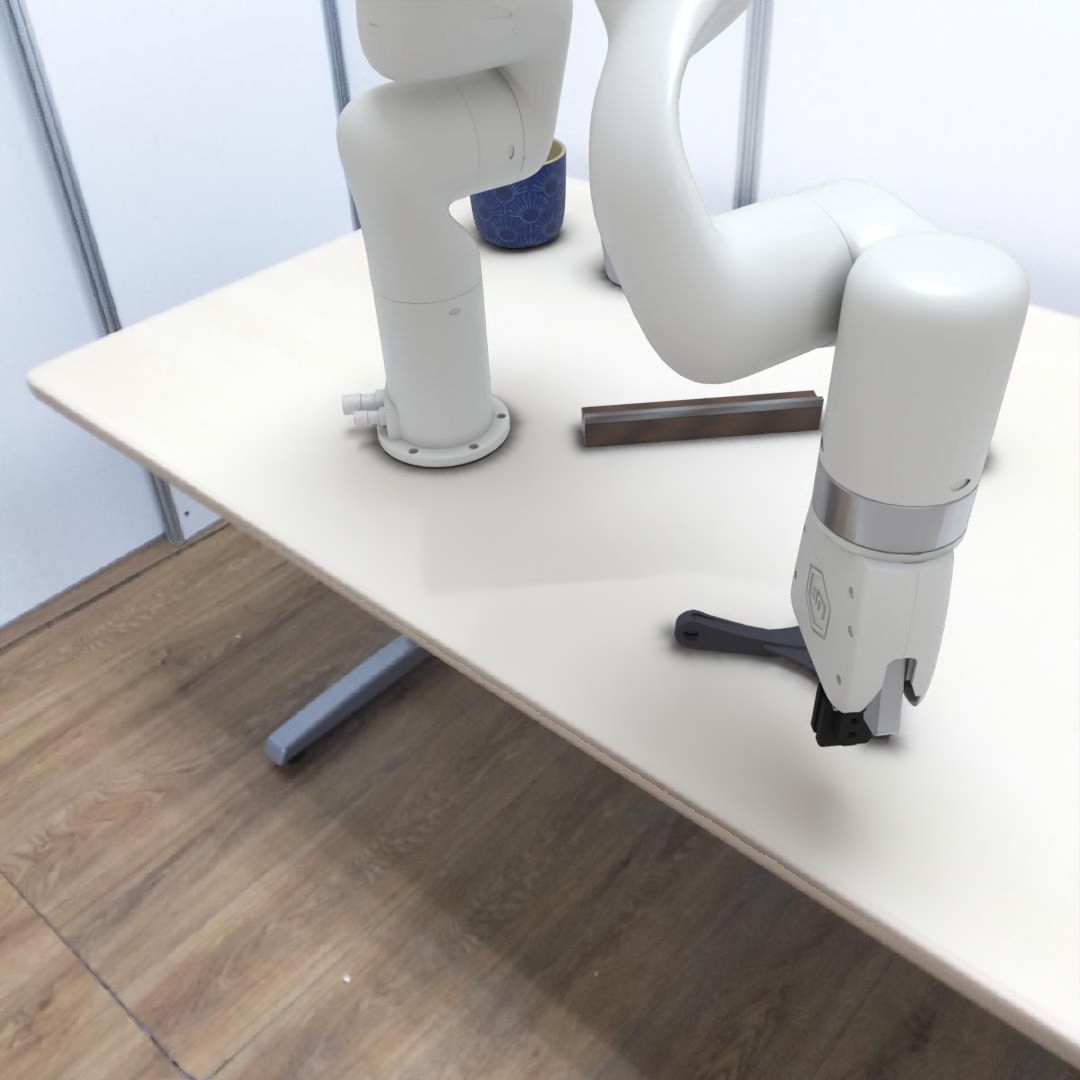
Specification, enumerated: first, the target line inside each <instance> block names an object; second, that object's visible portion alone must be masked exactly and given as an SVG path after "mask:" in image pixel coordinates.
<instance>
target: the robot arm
mask: <svg viewBox="0 0 1080 1080" xmlns="http://www.w3.org/2000/svg"><path fill="white" fill-rule="evenodd" d="M573 1H574V0H355V19H356V27H357V28H356V29H357V35H358V39H359V44H360V47H361V50H362V54H363V55H364V58H365V59H366V61H367V63H368V64H369V65H370V67H371V68H372V69H373V70H374V71H375V72H376V73H378V74H379V75H380V76H382V77H384V78H385V79H387V80H391V81H388V82H385V83H381V84H378V85H375V86H372V87H371V88H368V89H366V90H364V91H362V92H360V93H359V94H357V95H356V96H354V97H353V98H352V99H351V100H350V101H349V102H348V103H347V104H346V105H345V107H343V109H342V111H341V112H340V115H339V117H338V119H337V123H336V131H335V138H336V145H337V151H338V155H339V159H340V163H341V167H342V169H343V173H344V175H345V178H346V181H347V185H348V189H349V191H350V195H351V197H352V200H353V203H354V207H355V209H356V213H357V217H358V221H359V225H360V229H361V233H362V238H363V243H364V248H365V249H364V250H365V254H366V260H367V265H368V273H369V278H370V283H371V284H370V285H371V288H372V294H373V301H374V308H375V314H376V321H377V327H378V328H377V329H378V334H379V340H380V341H379V342H380V348H381V354H382V361H383V367H384V374H385V387H384V388H380V389H375V391H374V392H375V393H363V394H362V393H351V394H342V395H341V406H342V412H343V415H344V416H353V423H354V426H355V427H362V426H369V425H376V433H377V439H378V442H379V444H380V446H381V447H382V449H383V450H384V451H385V452H386V453H387V454H388V455H390V456H391V457H392V458H395V459H396V460H398V461H401V462H403V463H406V464H410V465H412V466H419V467H426V468H445V467H446V468H447V467H453V466H459V465H464V464H468V463H471V462H474V461H477V460H479V459H482V458H484V457H486V456H487V455H489V454H491V453H492V452H494V451H496V450H497V449H498V448H499V447H500V446H501V445H502V444H503V443H504V442H505V440H506V439H507V438H508V436H509V433H510V430H511V417H510V412H509V410H508V408H507V406H506V404H505V403H504V402H503V401H502V400H500V398H498V397H496V396H495V395H493V394H492V383H491V382H492V381H491V371H490V356H489V343H488V331H487V319H486V318H487V317H486V306H485V295H484V293H485V292H484V280H483V270H482V260H481V254H480V250H479V247H478V245H477V242H476V240H475V239H474V237H473V236H472V235H471V232H469V231H468V230H467V229H466V227H464V226H463V225H462V224H461V223H460V222H459V221H458V220H457V219H456V218H454V216H453V215H452V214H451V212H450V206H451V205H452V203H454V202H456V201H459V200H462V199H465V198H468V197H470V195H473V194H476V193H480V192H484V191H487V190H491V189H495V188H498V187H502V186H505V185H509V184H512V183H516V182H519V181H521V180H524V179H526V178H528V177H530V176H532V175H534V174H535V173H536V172H538V171H539V169H540V168H541V167H542V166H543V164H544V163H545V161H546V160H547V157H548V155H549V152H550V149H551V146H552V142H553V138H555V132H556V127H557V121H558V120H557V119H558V114H559V108H560V102H561V97H562V90H563V84H564V78H565V72H566V65H567V60H568V54H569V47H570V40H571V34H572V25H573V17H574V16H573V14H574V13H573V11H574V2H573ZM593 1H594V3H595V6H596V7H597V10H598V13H599V15H600V17H601V19H602V22H603V24H604V28H605V31H606V35H607V51H606V56H605V59H604V63H603V67H602V69H601V73H600V77H599V80H598V83H597V86H596V89H595V92H594V97H593V101H592V102H593V103H592V108H591V114H590V123H589V131H588V132H589V135H588V173H589V175H588V179H589V193H590V199H591V206H592V212H593V216H594V219H595V223H596V227H597V230H598V233H599V237H600V240H601V239H602V241H603V244H604V246H605V249H606V251H607V254H608V256H609V258H610V260H611V263H612V265H613V268H614V270H615V272H616V275H617V277H618V280H619V282H620V284H621V285H620V287H621V289H622V292H623V293H624V296H625V298H626V301H627V303H628V305H629V307H630V310H631V311H632V314H633V316H634V318H635V320H636V321H637V323H638V325H639V327H640V330H641V331H642V333H643V335H644V337H645V338H646V340H647V342H648V343H649V345H650V346H651V348H652V350H654V352H655V353H656V354H657V355H658V357H659V358H660V360H661V361H662V362H663V363H664V364H665V365H666V366H667V367H668V368H670V369H671V370H672V371H674V372H675V373H676V374H677V375H679V376H680V377H682V378H684V379H687V380H689V381H692V382H694V383H698V384H703V385H722V384H728V383H733V382H735V381H738V380H742V379H745V378H747V377H751V376H753V375H756V374H758V373H761V372H763V371H765V370H768V369H771V368H773V367H775V366H777V365H780V364H783V363H785V362H788V361H790V360H793V359H795V358H797V357H800V356H802V355H805V354H807V353H809V352H812V351H814V350H817V349H824V348H825V349H826V348H832V347H834V353H833V357H832V358H833V359H832V365H831V372H830V377H829V385H828V391H827V397H826V403H825V410H824V417H823V422H822V429H821V437H820V441H819V442H820V443H819V449H818V454H817V461H816V469H815V473H814V474H815V475H814V481H813V487H812V494H811V500H810V502H809V506H808V510H807V513H806V516H805V519H804V524H803V529H802V533H801V536H800V537H801V538H800V543H799V546H798V551H797V556H796V561H795V566H794V570H793V576H792V579H791V586H790V601H791V607H792V611H793V613H794V617H795V619H796V622H797V626H799V628H800V630H801V633H802V636H803V638H804V641H805V644H806V646H807V649H808V651H809V654H810V656H811V659H812V662H813V664H814V667H815V669H816V672H817V674H818V676H819V677H818V676H817V677H818V679H819V681H820V682H817V685H816V690H815V697H814V703H813V709H812V714H811V719H810V728H811V730H812V732H813V733H814V734H815V741H816V743H817V745H818V747H820V748H827V747H829V748H830V747H851V746H856V745H863V744H867V743H869V742H870V741H871V739H872V734H873V735H874V736H881V735H891V736H892V735H898V734H899V733H900V726H901V717H902V716H901V715H902V707H903V697H905V699H906V701H908V704H910V705H911V706H912V707H918V706H919V704H921V703H922V701H923V700H924V699H925V697H926V695H927V693H928V691H929V689H930V685H931V683H932V680H933V676H934V674H935V670H936V667H937V663H938V659H939V655H940V651H941V645H942V641H943V637H944V632H945V627H946V621H947V615H948V610H949V603H950V597H951V591H952V581H953V573H954V562H955V553H954V549H956V548H957V547H958V546H959V545H960V543H961V542H963V540H964V537H965V535H966V532H967V529H968V525H969V522H970V517H971V515H972V511H973V507H974V503H975V500H976V496H977V492H978V490H979V485H980V482H981V479H982V474H983V470H984V468H985V464H986V461H987V457H988V454H989V451H990V447H991V443H992V440H993V437H994V433H995V430H996V427H997V423H998V419H999V415H1000V412H1001V409H1002V404H1003V401H1004V399H1005V395H1006V390H1007V387H1008V384H1009V380H1010V376H1011V374H1012V369H1013V365H1014V362H1015V359H1016V355H1017V352H1018V347H1019V345H1020V342H1021V337H1022V334H1023V330H1024V326H1025V323H1026V319H1027V316H1028V315H1027V314H1028V311H1029V306H1030V302H1031V301H1030V300H1031V286H1030V281H1029V278H1028V274H1027V273H1026V270H1025V268H1024V266H1023V265H1022V264H1021V262H1019V260H1017V259H1016V258H1015V256H1013V255H1012V254H1011V253H1010V252H1008V251H1007V250H1005V249H1003V248H1002V247H1000V246H998V245H996V244H993V243H991V242H989V241H986V240H983V239H980V238H977V237H972V236H968V235H963V234H958V233H950V232H947V231H946V230H944V229H942V228H941V227H940V226H938V225H936V224H935V223H933V221H931V220H929V219H928V218H927V217H926V216H924V215H923V214H921V213H920V212H919V211H918V210H916V209H915V208H913V207H912V206H910V205H909V204H908V203H907V202H906V201H904V200H903V199H902V198H901V197H899V196H898V195H896V194H895V193H893V192H892V191H891V190H889V189H887V188H885V187H883V186H881V185H880V184H878V183H875V182H872V181H870V180H866V179H862V178H856V177H843V178H834V179H830V180H826V181H822V182H819V183H816V184H813V185H810V186H807V187H804V188H801V189H797V190H794V191H791V192H788V193H785V194H778V195H775V196H772V197H769V198H766V199H762V200H760V201H757V202H753V203H751V204H750V203H749V204H747V205H744V206H741V207H738V208H736V209H732V210H728V211H726V212H722V213H719V214H716V215H713V216H710V214H709V211H708V208H707V207H706V204H705V202H704V200H703V198H702V195H701V193H700V191H699V189H698V186H697V183H696V181H695V178H694V176H693V173H692V171H691V169H690V166H689V162H688V159H687V156H686V151H685V148H684V145H683V139H682V133H681V127H680V97H681V92H682V91H681V90H682V84H683V79H684V75H685V73H686V70H687V66H688V63H689V61H690V59H691V58H692V57H694V56H695V55H696V54H697V53H698V52H700V51H701V50H702V49H703V48H704V47H706V46H707V45H708V44H709V43H711V42H712V41H713V40H714V39H716V38H717V37H719V35H721V34H722V33H723V32H724V31H725V30H726V29H728V28H729V27H730V26H731V25H732V24H733V23H734V22H735V21H736V20H737V19H738V18H739V17H740V16H741V15H742V14H743V13H744V12H745V11H747V9H749V7H750V6H751V5H752V3H753V2H754V1H755V0H593Z"/></svg>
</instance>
